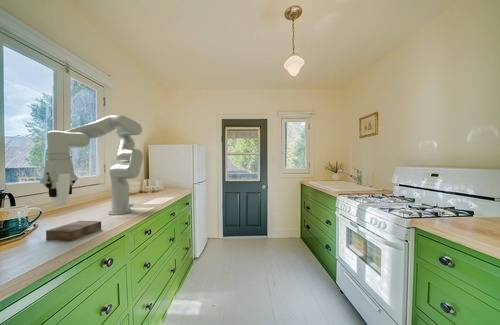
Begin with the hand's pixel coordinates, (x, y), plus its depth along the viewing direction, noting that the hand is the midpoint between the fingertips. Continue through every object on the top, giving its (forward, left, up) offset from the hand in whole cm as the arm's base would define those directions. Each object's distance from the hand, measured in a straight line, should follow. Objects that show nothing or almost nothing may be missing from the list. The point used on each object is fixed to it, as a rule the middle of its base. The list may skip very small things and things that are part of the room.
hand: (61, 195), depth 91 cm
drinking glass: (0, 0, -5) cm, 5 cm away
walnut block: (+3, +11, -17) cm, 21 cm away
